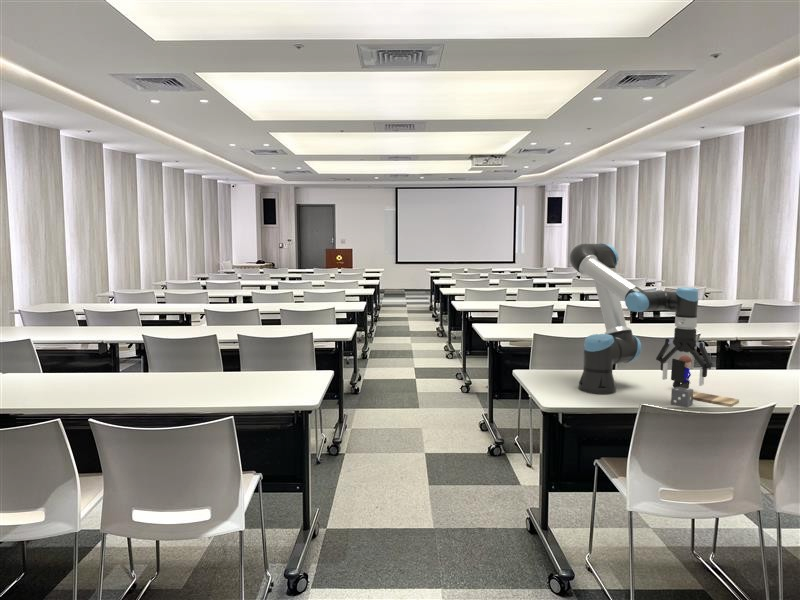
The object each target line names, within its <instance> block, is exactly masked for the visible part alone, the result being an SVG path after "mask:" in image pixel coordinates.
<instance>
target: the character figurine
mask: <svg viewBox="0 0 800 600" xmlns="http://www.w3.org/2000/svg"><path fill="white" fill-rule="evenodd" d="M692 364H693V360H692V358H691V357H690V356H689V355H681V356H680V357H679V358H678V359H676V358H672V359H671V372H670V373H671V375H670V381H673V382H672V388H673V389H674V388H676V387H682V388H688V389H690V384H691V381H690V378H691V376H692V373H691V371H690V369H689V367H691V366H692Z"/></svg>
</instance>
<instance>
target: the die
mask: <svg viewBox="0 0 800 600" xmlns="http://www.w3.org/2000/svg"><path fill="white" fill-rule="evenodd" d="M693 391H694V389H693V388H682V387H676V388H674V387H673V388H672V389H671V394H670V395H671V396H670V405H673V406H678V407H683V408H689V407H690V406H692V405H693V402H694V400H693Z"/></svg>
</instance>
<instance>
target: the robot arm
mask: <svg viewBox="0 0 800 600" xmlns="http://www.w3.org/2000/svg"><path fill="white" fill-rule="evenodd" d="M569 262H570V264H571V266H572V268H573V269H574V270H575V271H577V272H578V273H579V274H581V275H583V276H587V277H589V278H591V279H592V280H593V282H594V283H593V284H594V287H595V290H596V294H597V299H598V302H599V303H598V304H599V306H600V311H601V314H602V318H603V322H604V327H605V331H604V333H599V334H598V333H596V334H590V335H588V336H586V338H585V339H584V345H583V371H582V374H581V377H580V379H579V382H578V390H579V391H581V392H583V393H587V394H592V395H593V394H595V395H611V394H615V393H616V392H617V385H616V381H615V377H614V374H613V365H617V364H628V363H631V362H634V361H636V360H637V359H638V358H639V356H640V355H641V353H642V343H641V341H640V339H639V338H638V337H637V336H635V335H633V332H632V331H633V330H632V328H630V327H628V326H627V323H626V319H625V315H624V311H623V310H624V309H623V307H622V303H621V300H622V301H623V302H624V304H625V306H626V308H627V310H628V311H631V312H633V313H634V312H635V313H642V312H652V311H654V312H655V311H672V312H675V319H674V327H675V328H674V332H673V333H674V335H673V336H674V337H673V338H674V339H672V338H671V337H668V338H665V341H664V344H663V346H662V348H661V350H660V351H659V353H658V354H657V355H656V357H655V360H656V361H658V362H660V371H662V377H661V378H662V380H667V379H668V371H669V370H668V363H669V362H667V361H668V360H669V359H670V358H671V357H672V356H673V355H674V354H675V353H677V352H680V353H681V352H683V353H690V354H691V355H692V356H693V358H694V359H695V361H696V362H697V363H698V364H699V365H700V368H699V379H698V380H699V381H698V386H699V387H702V386H704V384H705V378H706V377H707V376H708V369H711V368H713V367H714V364H713V362H712V360H711V357H710V354H709V353H708V351H707V349H706V343H705V342H704V341H701V342H697V339H696V338H697V329H696V328H697V326H698V325H697V324H698V323H697V322H698V308H699V307H698V305H699V291H698V288H695V287H685V286H683V287H680V286H679V287H677V288H676V291H675V292H674V291H667V290H661V289H660V290H659V289H658V290H652V291H645V290H643V289H642V288H640V287H639V286H637V285H635V284H634V283H633V282H631V281H630V280H628V279H626V278H625V277H624V276H622V275H621V274H619V273H617V272H616V271H617V269H616V267H617V265H618V262H619V254H618V251H617V250H616V249H615V247H613V246H612V245H611V244H608V243H601V242H600V243H580V244H578V245H576V246H574V247H573V249H572V250H571V252H570V254H569ZM672 344H673V345H674V347H673V348H672V349H671V350H670V351H669V352H667V350H668V349H669V347H670V345H672ZM696 347H697V348H699V351H700V353H701V355H702V356H701V355H700V354H699V352H698V350H697V349H696ZM666 352H667V354H665V353H666ZM664 355H665V356H664Z"/></svg>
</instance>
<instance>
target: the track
mask: <svg viewBox="0 0 800 600" xmlns="http://www.w3.org/2000/svg"><path fill="white" fill-rule="evenodd" d="M693 401H698V402H703V403H708V404H714V405H720V406H725V407H730V408H731V407H733V406H734V405H737V404H738V403H740V399H739V398H733V397H728V396H722V395H716V394H711V393H706V392H705V393H704V392H700V391H694V390H693Z"/></svg>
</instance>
